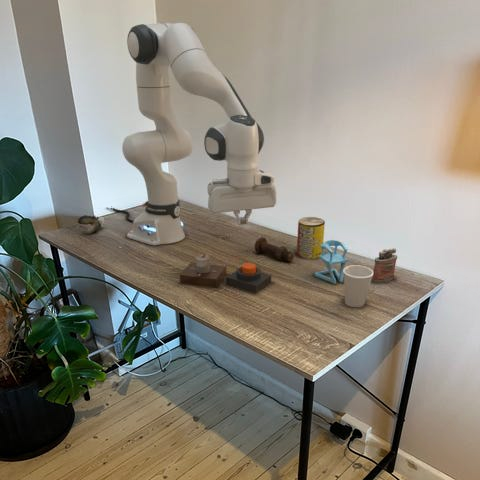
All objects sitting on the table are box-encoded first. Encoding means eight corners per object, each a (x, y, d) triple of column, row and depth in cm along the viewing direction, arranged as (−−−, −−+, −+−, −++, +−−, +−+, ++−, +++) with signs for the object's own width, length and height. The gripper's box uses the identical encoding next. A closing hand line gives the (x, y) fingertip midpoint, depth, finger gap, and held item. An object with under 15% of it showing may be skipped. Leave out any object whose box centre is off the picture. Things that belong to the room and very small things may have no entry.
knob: (207, 273, 154) (206, 259, 152) (194, 272, 155) (193, 258, 153) (212, 268, 158) (211, 254, 155) (199, 266, 159) (198, 253, 157)
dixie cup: (348, 293, 149) (352, 262, 144) (374, 301, 144) (379, 270, 139) (334, 303, 143) (337, 272, 138) (360, 312, 138) (364, 280, 133)
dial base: (180, 283, 155) (179, 274, 154) (191, 270, 164) (191, 261, 162) (216, 288, 152) (216, 278, 151) (226, 274, 161) (226, 265, 159)
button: (238, 272, 152) (238, 266, 151) (246, 267, 155) (246, 261, 154) (250, 275, 150) (250, 269, 149) (258, 270, 153) (258, 264, 152)
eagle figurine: (90, 222, 202) (74, 225, 195) (97, 209, 199) (80, 211, 191) (102, 235, 201) (86, 238, 194) (109, 222, 197) (93, 224, 190)
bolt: (289, 268, 169) (257, 254, 178) (298, 257, 170) (265, 245, 179) (285, 257, 164) (252, 244, 173) (294, 246, 166) (261, 234, 175)
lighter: (376, 284, 154) (380, 254, 149) (369, 280, 156) (373, 250, 151) (396, 278, 157) (401, 249, 152) (389, 274, 160) (393, 245, 154)
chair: (328, 285, 153) (331, 249, 147) (314, 275, 160) (316, 240, 154) (349, 281, 156) (353, 245, 150) (334, 271, 162) (337, 236, 156)
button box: (226, 284, 154) (225, 271, 152) (242, 274, 161) (242, 261, 158) (255, 293, 149) (255, 280, 147) (271, 282, 155) (271, 269, 153)
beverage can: (295, 248, 179) (297, 216, 173) (320, 249, 179) (323, 216, 173) (297, 258, 171) (299, 225, 165) (323, 258, 171) (326, 225, 165)
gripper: (210, 183, 136) (211, 231, 143) (279, 177, 141) (277, 223, 148) (204, 177, 141) (206, 224, 148) (271, 171, 146) (269, 216, 154)
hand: (242, 223), depth 148 cm, fingers closed
